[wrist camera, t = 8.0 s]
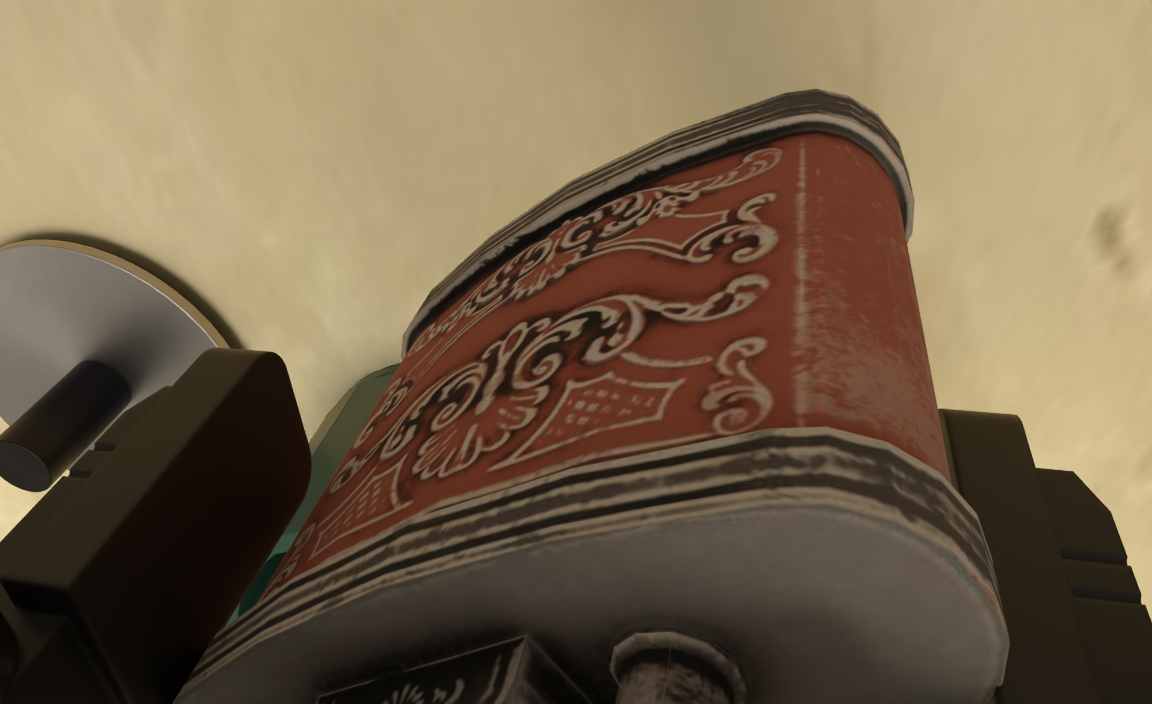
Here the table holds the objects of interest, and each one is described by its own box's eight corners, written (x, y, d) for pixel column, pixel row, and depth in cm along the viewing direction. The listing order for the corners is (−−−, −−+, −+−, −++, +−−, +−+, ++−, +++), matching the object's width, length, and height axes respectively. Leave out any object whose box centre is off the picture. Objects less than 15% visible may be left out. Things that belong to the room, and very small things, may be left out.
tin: (357, 558, 41) (268, 731, 34) (299, 349, 34) (175, 510, 27) (610, 590, 38) (568, 781, 32) (600, 373, 32) (545, 554, 25)
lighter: (499, 438, 16) (203, 1158, 8) (375, 294, 15) (-119, 982, 7) (951, 243, 12) (1214, 1223, 4) (838, 26, 11) (924, 865, 3)
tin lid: (44, 468, 41) (-53, 567, 37) (-82, 223, 34) (-223, 306, 30) (296, 496, 39) (226, 606, 34) (215, 239, 32) (114, 333, 27)
